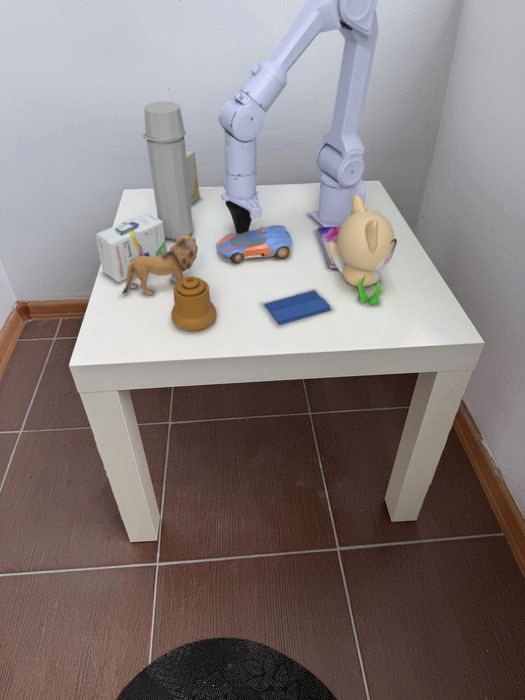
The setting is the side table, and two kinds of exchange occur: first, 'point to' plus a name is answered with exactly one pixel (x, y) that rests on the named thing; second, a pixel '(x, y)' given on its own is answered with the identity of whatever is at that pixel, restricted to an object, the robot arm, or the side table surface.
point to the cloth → (297, 307)
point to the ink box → (130, 244)
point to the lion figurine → (163, 263)
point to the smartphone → (329, 236)
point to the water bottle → (169, 167)
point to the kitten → (363, 248)
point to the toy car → (256, 243)
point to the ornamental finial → (192, 304)
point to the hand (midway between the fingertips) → (242, 234)
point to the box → (192, 176)
